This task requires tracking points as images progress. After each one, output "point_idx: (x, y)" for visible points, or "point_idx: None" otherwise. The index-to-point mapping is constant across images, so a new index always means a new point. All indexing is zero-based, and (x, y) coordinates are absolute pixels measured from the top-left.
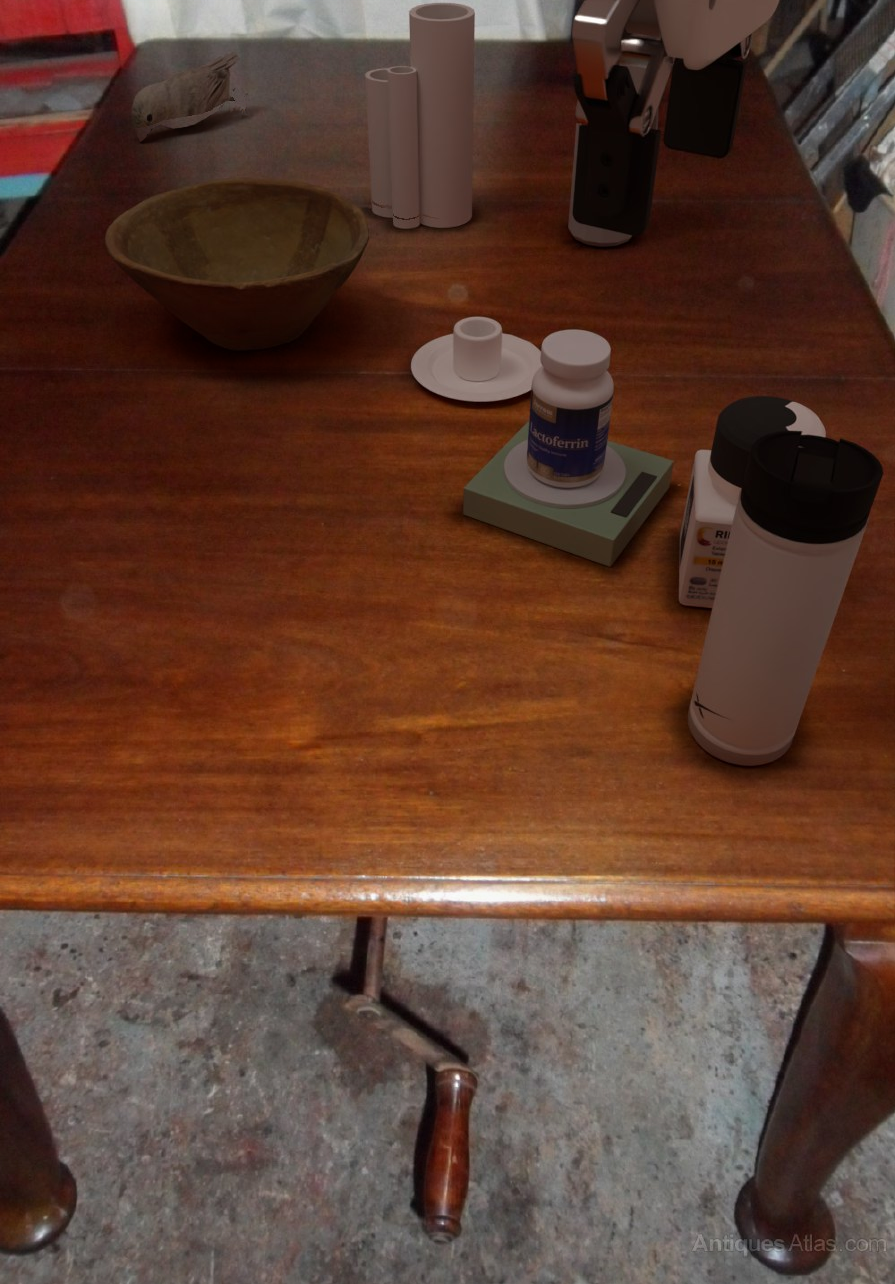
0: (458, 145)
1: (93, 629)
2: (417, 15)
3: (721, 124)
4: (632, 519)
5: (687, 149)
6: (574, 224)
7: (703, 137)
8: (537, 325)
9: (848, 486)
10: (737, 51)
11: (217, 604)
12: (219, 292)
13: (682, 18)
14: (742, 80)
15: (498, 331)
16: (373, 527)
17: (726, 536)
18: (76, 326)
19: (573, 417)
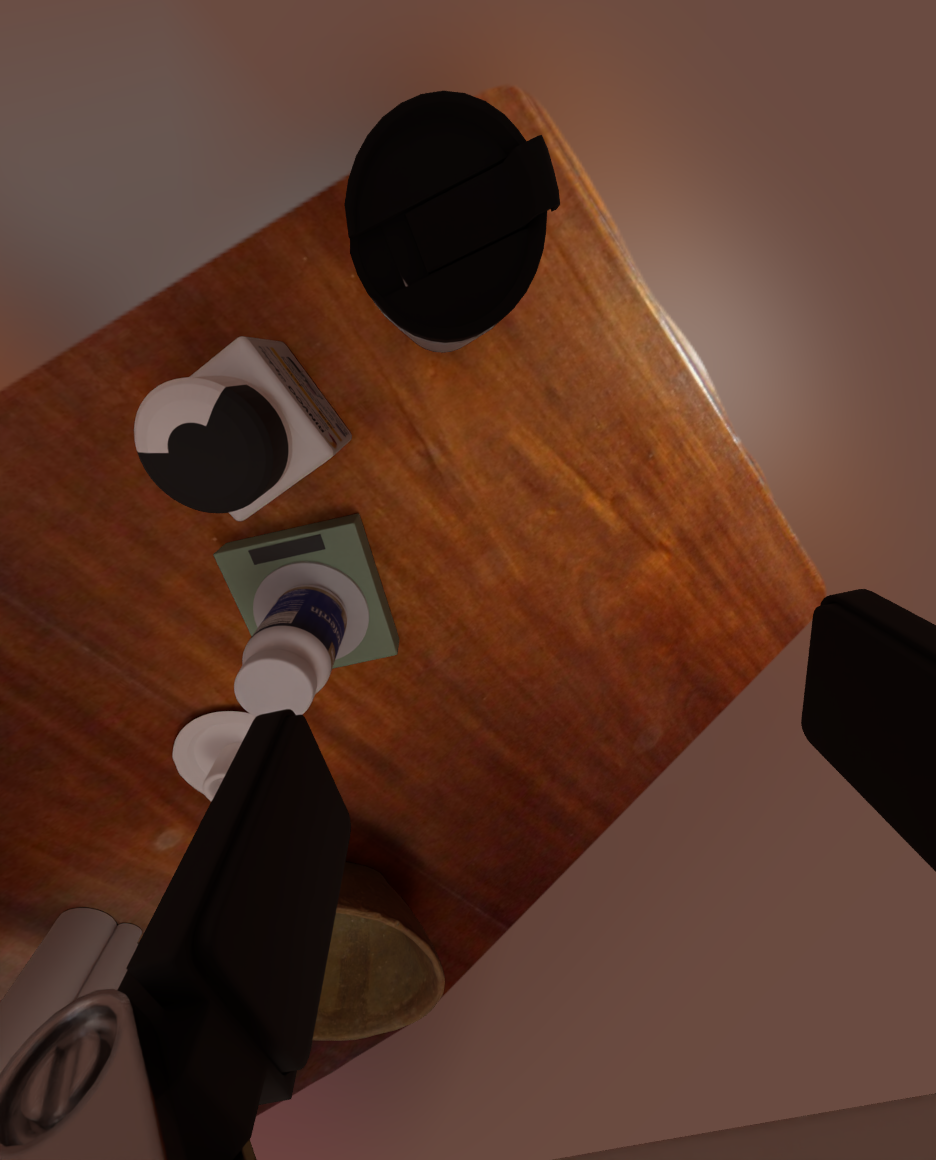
0: (30, 996)
1: (661, 715)
2: None
3: (281, 787)
4: (313, 530)
5: (332, 782)
6: None
7: (312, 785)
8: (139, 771)
9: (463, 145)
10: (147, 1040)
11: (596, 684)
12: (410, 925)
13: None
14: (183, 894)
15: (214, 777)
16: (461, 673)
17: (316, 422)
18: (443, 944)
19: (319, 633)
